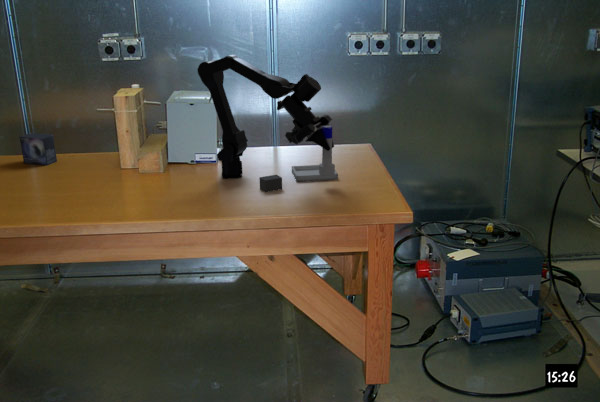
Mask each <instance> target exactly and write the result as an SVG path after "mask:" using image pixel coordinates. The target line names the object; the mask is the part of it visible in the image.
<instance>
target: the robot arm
mask: <svg viewBox="0 0 600 402" xmlns="http://www.w3.org/2000/svg"><path fill="white" fill-rule="evenodd" d="M227 70H231V71H233V72H234V73H236V74H238V75H240V76H241V77H244V78H245V79H248V80H249V81H251V82H252V83H254V84H256V85H258V87H260V88H261V89H262V91H263V92H264V93H265V94H267V95H268V96H269V97H270V98H272V99H274V100H276V99H277V100H278V99H280V98H283V99H282V100H278V101H277V102H276V103H277V104H276V105H277V106H276V110H277V111H281V110H282V109H285V111H286V112H287V113H288V115H289V116H290V117H291V118H292V119H293V120H292V124H293V125H294V127H293V128H292V129H291V130H287V131H286V133H285V135H284V137H285V138H286V139H287V141H288V143H290V144H291V143H293V144H295V145H298V144H301V143H302V142H304V139H305V138H306V140H305V142H313V143H315V144H316V145H318V146H320V147H321V148H322V147H323V148H324V149H326V150H327V151H329V150H330V146H329V144H328V142H327V140H326V138H325V135H324V133H323V129H322V128H323V126H330V123H331V122H332V121H333V119H332V117H331V116H330V115H328V114H324V115H322V116H320V117H319V116H316V115H315V114H314V113H313V111H312V107H311V106H307V105H306V104H305V102H307V103H308V102H310V101H312V99H313V98H314V97H315V96H316V95H317V94H318V93H319V92H320V91H321V90H322V86H321V84H320V83H319V81H318V80H317V79H314V78H313V77H312V76H310V75H309V74H308V73H305V74H303V75H302V76H301V78H300V79H299V80H298V81H297V83H294V82H290V81H289V79H286V78H284V77H281V76H279V75H276V74H269V73H267V72H265V71H263V70H262V69H260V68H258V67H256V66H254V65H253V64H252V63H249V62H247V61H246V60H244V59H242V58H240V57H239V56H237V54H229V55H226V56H224V57H222V58H220V59H219V58H218V59H211V60H207V61H206V60H205V61H202V62H201V63H200V64H199V65H198V67H197V75H198V77H199V78H200V81H201V82H202V84H203V85H204V86H205V87H206V88H207V89H208V91H209V93H210V94H209V95H210V97H211V100H212V103H213V106H214V110H215V112H216V115H217V118H218V120H219V123H220V127H221V130H222V133H221V134H222V135H221V143H222V149H221V150H220V151H219V152H218V153H217V154H216V156H217V160H218V161H219V162H221V178H222V179H237V178H242V175H243V162H242V160H241V157H243V154H244V152H245V151H246V150H247V148H248V142H249V140H248V139H247V136H246V131H245V129H243V130H240V129H239V128H238V127H237V124H236V122H235V118H234V116H233V112H232V109H231V106H230V103H229V99H228V97H227V94H226V90H225V87H224V78H225V74H224V72H225V71H227ZM290 93H292V94H290ZM289 94H290V95H289ZM334 147H335V144H334V140H333V139H332V149H333V148H334Z"/></svg>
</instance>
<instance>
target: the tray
mask: <svg viewBox="0 0 600 402" xmlns="http://www.w3.org/2000/svg"><path fill="white" fill-rule="evenodd" d="M291 173H292V176H293V175H294V176H293V177H295V178H294V180H295V179H296V180H295V181H303V182H315V181H316V180H321V181H337V180H339V174H338V171H336V169H335V174H334V175H333V176H322V175H320V174H319V164H310V165H307V164H306V165H291ZM316 182H317V181H316Z"/></svg>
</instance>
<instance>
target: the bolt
mask: <svg viewBox="0 0 600 402" xmlns="http://www.w3.org/2000/svg"><path fill="white" fill-rule="evenodd" d="M322 129H323V133H324V135H325V138H326V140H327V142H328V144H329V146H330V150H329V151H327V150H326V149H324V148H323V147H321V148H322V151H321V152H322V154H321V156H322V157H321V163H319V164H318V165H319V174H320V175H322V176H333V175H334V174H335V170H336V167H335V165H336V164H335V163H333V155H332V154H333V148H332V140H333V126H331V125H329V126H323V128H322Z"/></svg>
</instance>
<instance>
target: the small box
mask: <svg viewBox="0 0 600 402" xmlns="http://www.w3.org/2000/svg"><path fill="white" fill-rule="evenodd" d="M54 140H55V137H54V134H51V133H50V134H49V133H37V132H29V133H26V134H24V135H21V136H19V141H20V142H19V143H20V148H21V154H22V159H23V164H25V163H26V165H37V166H38V165H39V166H49V165H52V164H54V163H56V162H58V159H57V152H56V144H55V141H54Z"/></svg>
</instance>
